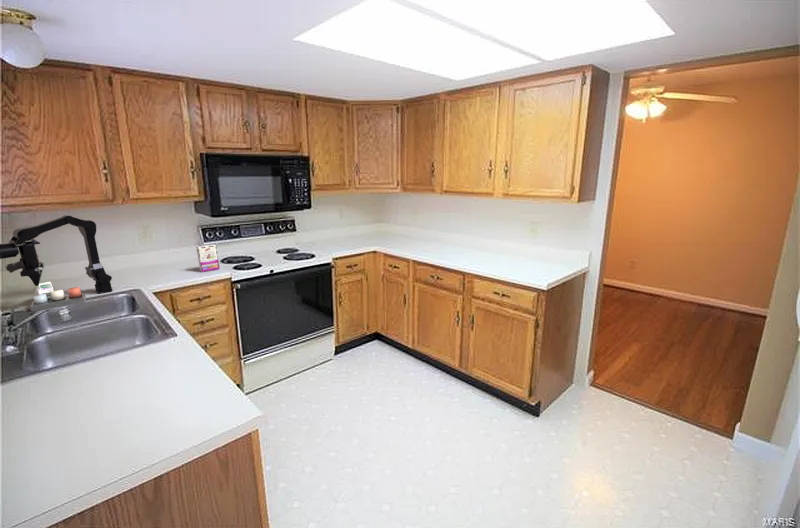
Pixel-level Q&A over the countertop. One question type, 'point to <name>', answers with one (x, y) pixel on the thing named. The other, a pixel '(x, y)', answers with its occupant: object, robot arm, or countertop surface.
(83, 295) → the console
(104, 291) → the robot arm
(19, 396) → the countertop surface
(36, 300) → the blue button
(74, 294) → the red button
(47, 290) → the syrup box
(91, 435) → the countertop surface
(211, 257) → the candy bar box
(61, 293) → the ivory button
